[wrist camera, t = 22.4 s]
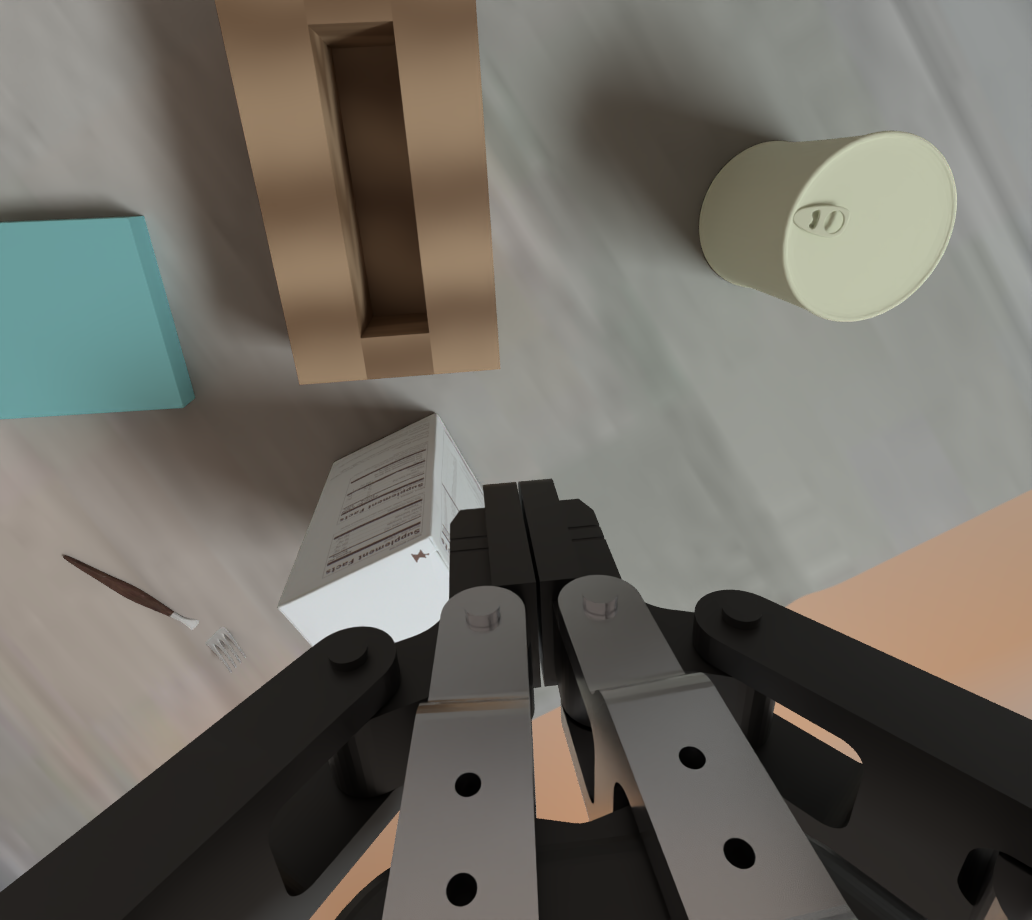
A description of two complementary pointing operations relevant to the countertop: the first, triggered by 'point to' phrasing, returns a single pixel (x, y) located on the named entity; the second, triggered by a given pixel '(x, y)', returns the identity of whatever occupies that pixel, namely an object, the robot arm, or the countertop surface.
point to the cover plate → (85, 321)
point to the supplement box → (382, 537)
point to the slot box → (370, 180)
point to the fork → (158, 608)
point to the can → (831, 221)
